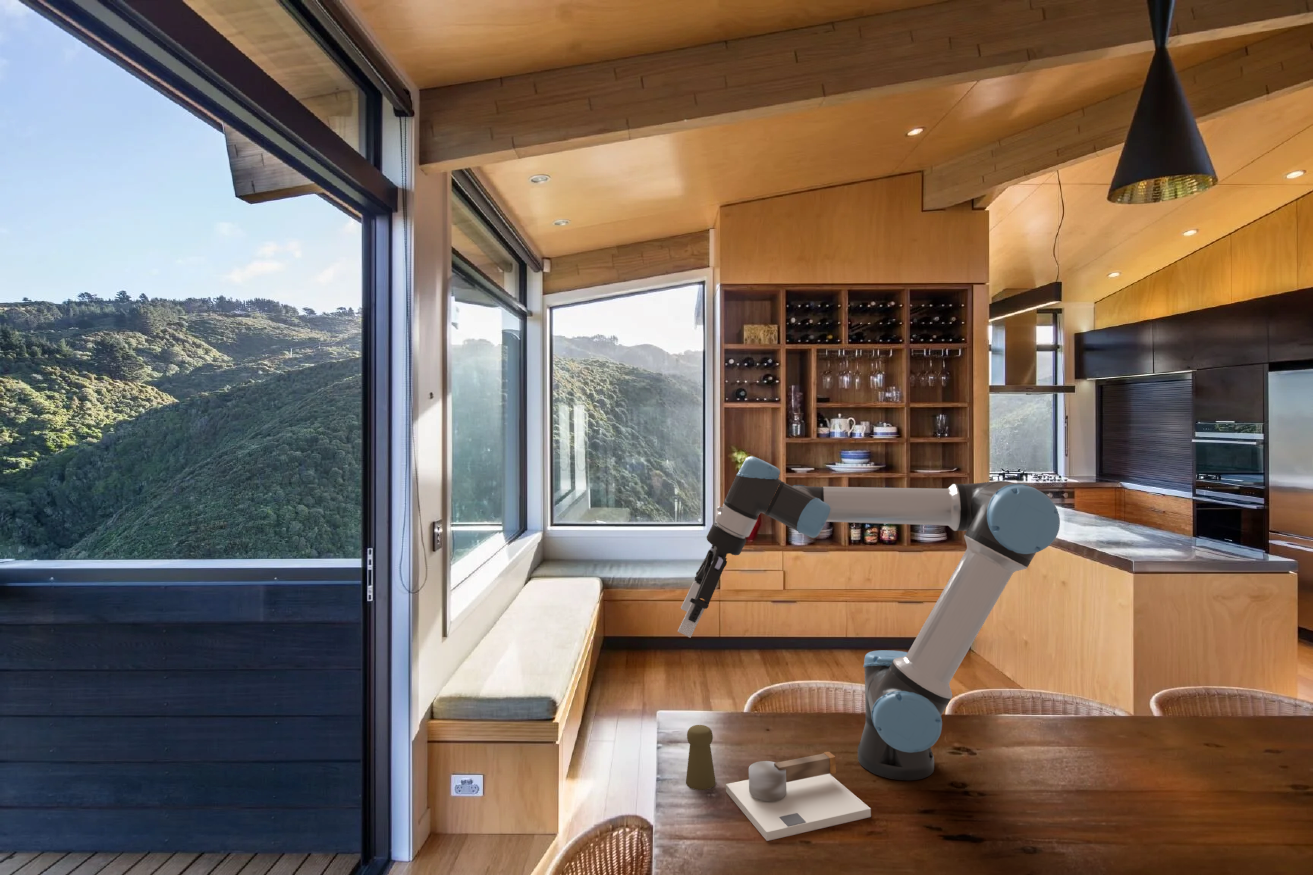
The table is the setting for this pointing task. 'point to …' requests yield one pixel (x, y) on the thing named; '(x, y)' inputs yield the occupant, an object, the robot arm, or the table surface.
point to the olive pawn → (700, 758)
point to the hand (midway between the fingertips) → (685, 622)
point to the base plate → (800, 806)
